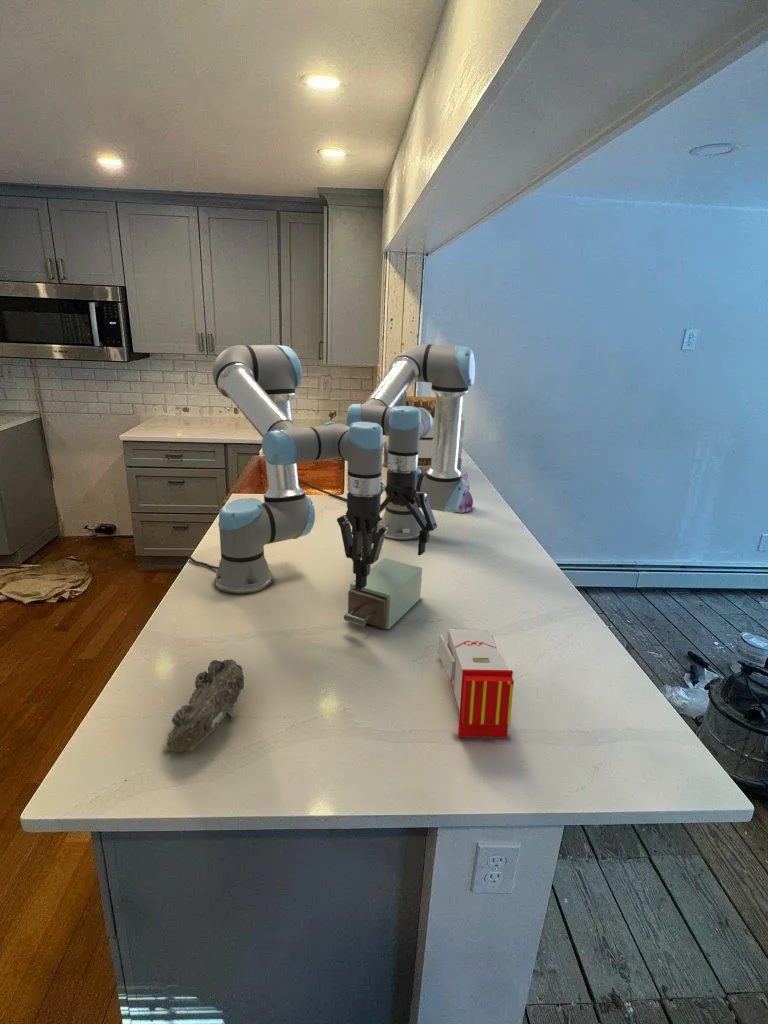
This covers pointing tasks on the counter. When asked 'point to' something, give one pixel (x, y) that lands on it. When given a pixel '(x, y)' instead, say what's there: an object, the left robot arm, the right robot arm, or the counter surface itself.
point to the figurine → (465, 497)
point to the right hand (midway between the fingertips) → (397, 547)
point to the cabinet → (394, 587)
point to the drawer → (366, 608)
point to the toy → (478, 682)
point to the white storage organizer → (427, 440)
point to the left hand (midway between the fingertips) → (360, 586)
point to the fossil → (206, 705)
